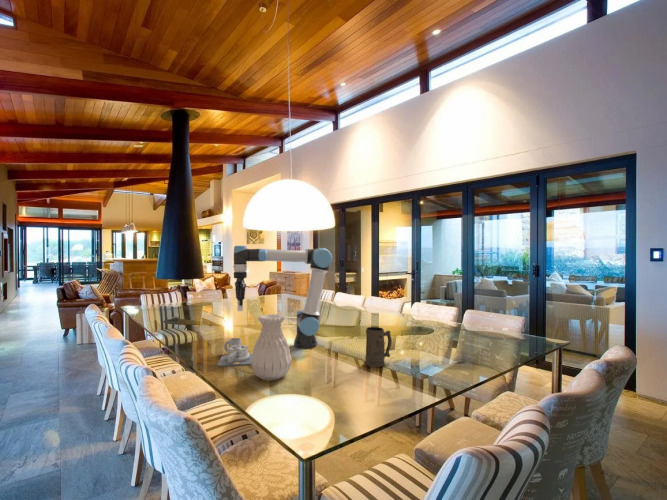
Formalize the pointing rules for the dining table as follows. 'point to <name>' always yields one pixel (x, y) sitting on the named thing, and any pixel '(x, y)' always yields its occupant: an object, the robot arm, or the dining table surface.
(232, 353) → the grey lumpy block
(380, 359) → the beer stein
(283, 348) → the vase
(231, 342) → the cup
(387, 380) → the dining table surface
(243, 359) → the housing
